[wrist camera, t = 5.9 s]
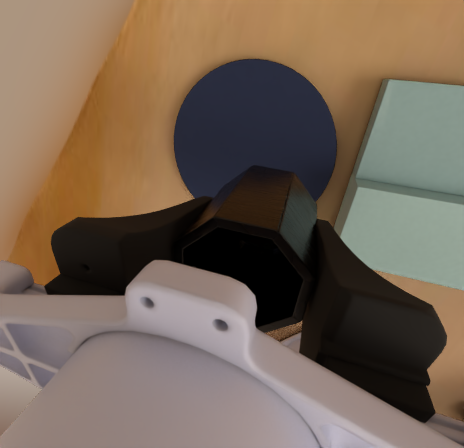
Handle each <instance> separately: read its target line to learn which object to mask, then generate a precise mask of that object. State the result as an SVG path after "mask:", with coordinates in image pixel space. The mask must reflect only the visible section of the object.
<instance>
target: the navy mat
mask: <svg viewBox="0 0 464 448" xmlns="http://www.w3.org/2000/svg"><path fill="white" fill-rule="evenodd" d="M174 151H175V158H176V162H177V166H178V169H179V172H180V175H181V177H182V179H183V181H184V183H185V185H186V187H187V188H188V190H189V191H190V193H191V194H192V195H193V196H194V198H198V197H202V196H208V197H213V198H214V197H215V195H216V194H217V193H218V192H219V191H220V190H221V188H222V187H223V186H224V185H226V184H227V183H228V182H230V181H231V180H232V179H234V178H235V177H237V176H238V175H239V174H241V173H242V172H243V171H245V170H246V169H247V168H249V167H250V166H253V165H257V166H262V167H268V168H274V169H280V170H286V171H291V172H293V173H295V174H296V175H297V177H298V178H299V180H300V181H301V183H302V184H303V185H304V187H305V188H306V190H307V191H308V193H309V194H310V195H311V197H312V198H313V200H314V201H315V202H316V201H317V200H318V198H319V197H320V196H321V194H322V193H323V191H324V190H325V188H326V186H327V184H328V182H329V180H330V178H331V175H332V172H333V169H334V166H335V160H336V152H337V140H336V130H335V126H334V122H333V119H332V116H331V113H330V111H329V109H328V106H327V104H326V103H325V101H324V99H323V98H322V96H321V94H320V93H319V92H318V91H317V89H316V88H315V87H314V86H313V85H312V84H311V83H310V82H309V81H308V80H307V79H306V78H305V77H303V76H302V75H301V74H299V73H297V72H296V71H294V70H293V69H291V68H289V67H286V66H284V65H282V64H279V63H276V62H272V61H268V60H260V59H245V60H239V61H234V62H230V63H227V64H225V65H222V66H220V67H218V68H216V69H214V70H213V71H211V72H209V73H208V74H207V75H205V76H204V77H203V78H202V79H200V80H199V81H198V82H197V84H196V85H195V86H194V87H193V88H192V89H191V91H190V92H189V93H188V95H187V96H186V98H185V100H184V102H183V104H182V106H181V108H180V111H179V113H178V116H177V120H176V124H175V131H174Z"/></svg>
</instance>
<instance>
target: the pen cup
mask: <svg viewBox="0 0 464 448" xmlns="http://www.w3.org/2000/svg"><path fill="white" fill-rule="evenodd" d="M316 220H317V204H316V202H315V201H314V200H313V198H312V197H311V195H310V194H309V193H308V191H307V190H306V188H305V187H304V185H303V184H302V183H301V181H300V180H299V178H298V177H297V175H296V174H295V173H293V172H291V171H286V170H280V169H274V168H268V167H262V166H257V165H253V166H250V167H249V168H247V169H246V170H245V171H243V172H242V173H241V174H239V175H238V176H237V177H235V178H234V179H232V180H231V181H230V182H228V183H227V184H226V185H224V186H223V187H222V188H221V190H220V191H219V192H218V193H217V194H216V195H215V197H214V198H213V199H212V200H211V201H210V202H209V203H208V205H207V206H206V207H205V208H204V209H203V210H202V211H201V213H200V214H199V215H198V216H197V217H196V218H195V219H194V221H193V222H192V223H191V224H190V225H189V226H188V227H187V229H186V230H185V231H184V232H183V233H182V234H181V236H180V237H179V238H178V239H177V240H176V241H175V243H174V262H175V263H179V264H183V265H187V266H190V267H194V268H198V269H202V270H205V271H209V272H213V273H217V274H220V275H224V276H228V277H231V278H233V279H235V280H237V281H239V282H241V283H243V284H245V285H246V286H247V287H248V288H249V289H250V290H251V292H252V293H253V294H254V295H255V298H256V304H257V311H256V316H255V326H256V328H257V329H258V330H260V331H262V332H263V333H266V332H269V331H272V330H276V329H279V328H283V327H286V326H289V325H293V324H296V323H299V322H301V321H302V320H303V317H304V314H305V311H306V308H307V305H308V302H309V299H310V296H311V293H312V290H313V287H314V284H315V282H316Z"/></svg>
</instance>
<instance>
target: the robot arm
mask: <svg viewBox="0 0 464 448" xmlns="http://www.w3.org/2000/svg"><path fill="white" fill-rule="evenodd" d="M212 199H213V197H208V196H202V197H198V198H195V199H193V200H190V201H187V202H184V203H182V204H179V205H176V206H173V207H170V208H167V209H164V210H160V211H156V212H151V213H147V214H141V215H134V216H126V217H112V218H83V217H77V218H76V219H74V220H72V221H71V222H69V223H67V224H65V225H64V226H62V227H60V228H59V229H57V230H56V231H54V233H53V235H52V238H51V246H52V251H53V253H54V256H55V259H56V262H57V265H58V268H59V271H60V273H61V274H60V275H58V276H57V277H56V278H54V279H53V280H52V281H50V282H49V283H48V284H46V285H45V286H42V285H39V284H36V283H34V280H33V276H32V274H31V273H30V271H29V270H28V269H27V268H25V267H23V266H21V265H17V264H14V263H11V262H8V261H3V260H2V261H0V366H2V367H3V368H5V369H7V370H9V371H11V372H13V373H14V374H16V375H18V376H20V377H21V378H23V379H25V380H26V381H28V382H30V383H32V384H33V385H35V386H37V387H39V388H40V389H42V390H41V391H40V392H39V393H38V395H37V396H36V397H35V398H34V399H33V400H32V401H31V403H30V404H29V405H28V406H27V407H26V408H25V409H24V411H23V412H22V413H21V414H20V415H19V416H18V417H17V418H16V419H15V421H14V422H13V423H12V424H11V425H10V426H9V427H8V429H7V430H6V431H5V432H4V433H3V434H2V435H1V436H0V448H464V422H463V421H460V420H457V419H454V418H451V417H447V416H444V415H441V414H438V413H436V412H435V410H434V407H433V404H432V401H431V398H430V395H429V392H428V390H427V387H426V385H427V386H428V385H429V384H430V378H429V375H428V372H427V369H428V368H429V367H430V365H431V364H432V363H433V362H434V361H435V359H436V358H437V357H438V356H439V355H440V354H441V352H442V351H443V349H444V347H445V346H446V341H447V335H446V332H445V330H444V327H443V325H442V323H441V321H440V319H439V317H438V315H437V313H436V311H435V310H434V308H433V306H432V305H430V304H429V303H427V302H425V301H423V300H421V299H419V298H417V297H415V296H413V295H411V294H409V293H407V292H405V291H403V290H402V289H400V288H398V287H397V286H395V285H393V284H392V283H390V282H389V281H387V280H386V279H384V278H383V277H381V276H380V275H379V274H377V273H376V272H374V271H373V270H372V269H371V268H369V267H368V266H367V265H366V264H365V263H364V262H362V261H361V260H360V259H359V258H358V257H357V256H356V255H355V254H354V253H353V252H352V251H351V250H350V249H349V248H348V247H347V245H346V244H345V243H344V242H343V241H342V239H341V238H340V237H339V235H338V234H337V233H336V231H335V230H334V229H333V227H332V226H331V224H330V223H329V222H328V221H325V220H320V219H317V220H316V282H315V284H314V287H313V290H312V293H311V296H310V299H309V302H308V305H307V308H306V311H305V314H304V317H303V322H302V331H301V332H300V333H298V334H296V335H294V336H291V337H289V338H287V339H285V340H283V341H281V342H279V341H277V340H276V339H274V338H272V337H270V336H269V335H267V334H265V333H263V332H262V331H260V330H258V329H257V328H256V326H255V316H256V311H257V304H256V298H255V295H254V294H253V293H252V292H251V290H250V289H249V288H248V287H247V286H246V285H245V284H243V283H241V282H239V281H237V280H235V279H233V278H231V277H228V276H224V275H220V274H217V273H213V272H209V271H205V270H202V269H198V268H194V267H190V266H187V265H183V264H179V263H175V262H174V243H175V241H176V240H177V239H178V238H179V237H180V236H181V234H182V233H183V232H184V231H185V230H186V229H187V227H188V226H189V225H190V224H191V223H192V222H193V221H194V219H195V218H196V217H197V216H198V215H199V214H200V213H201V211H202V210H203V209H204V208H205V207H206V206H207V205H208V203H209V202H210V201H211V200H212Z"/></svg>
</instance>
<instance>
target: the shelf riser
mask: <svg viewBox="0 0 464 448" xmlns="http://www.w3.org/2000/svg"><path fill="white" fill-rule="evenodd" d="M333 229H334V230H335V231H336V233H337V234H338V235H339V237H340V238H341V239H342V241H343V242H344V243H345V244H346V245H347V247H348V248H349V249H350V250H351V251H352V252H353V253H354V254H355V255H356V256H357V257H358V258H359V259H360V260H361V261H362V262H364V263H365V264H366V265H367V266H368V267H369V268H371V269H373V270H377V271H382V272H386V273H390V274H395V275H399V276H403V277H408V278H412V279H416V280H421V281H425V282H429V283H434V284H438V285H442V286H447V287H451V288H455V289H460V290H464V86H461V85H450V84H439V83H428V82H417V81H406V80H395V79H383V82H382V85H381V88H380V91H379V94H378V97H377V100H376V103H375V106H374V109H373V112H372V115H371V118H370V121H369V124H368V127H367V130H366V133H365V136H364V139H363V142H362V144H361V147H360V150H359V153H358V156H357V159H356V162H355V165H354V168H353V172H352V174H351V177H350V180H349V183H348V186H347V189H346V192H345V195H344V198H343V201H342V204H341V207H340V210H339V213H338V216H337V219H336V222H335V225H334V228H333Z"/></svg>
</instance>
